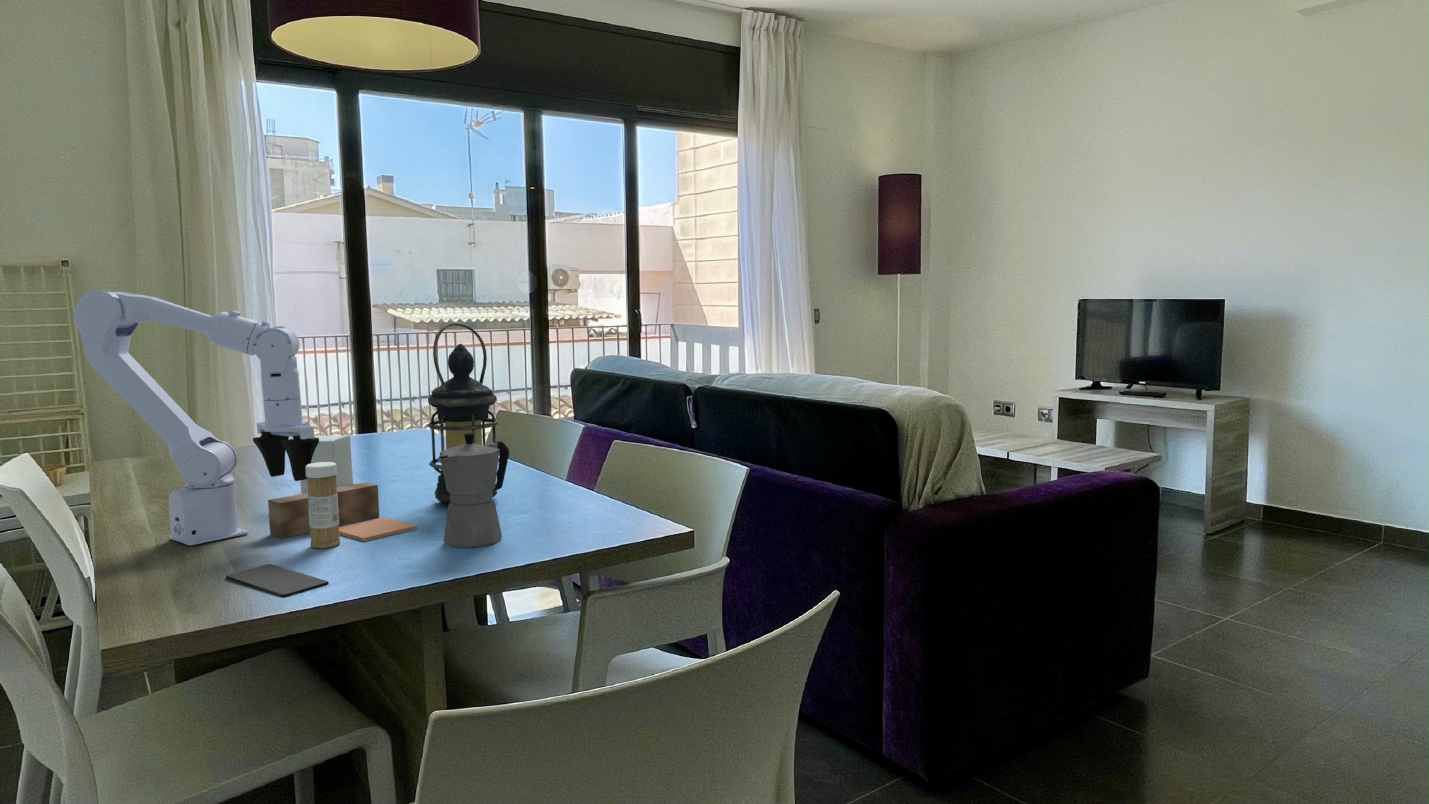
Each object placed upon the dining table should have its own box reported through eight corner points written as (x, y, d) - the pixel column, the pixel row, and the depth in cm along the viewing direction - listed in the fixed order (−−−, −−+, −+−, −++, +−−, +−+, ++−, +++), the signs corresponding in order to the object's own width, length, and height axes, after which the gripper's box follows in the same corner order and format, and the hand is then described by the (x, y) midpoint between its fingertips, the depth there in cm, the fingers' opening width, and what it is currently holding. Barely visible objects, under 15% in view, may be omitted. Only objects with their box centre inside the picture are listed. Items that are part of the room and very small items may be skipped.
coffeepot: (464, 554, 138) (460, 440, 136) (421, 546, 142) (416, 436, 140) (531, 532, 151) (528, 427, 149) (489, 525, 156) (486, 424, 154)
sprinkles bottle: (323, 540, 146) (319, 460, 145) (347, 542, 145) (342, 461, 143) (303, 548, 142) (298, 465, 140) (327, 550, 141) (322, 466, 139)
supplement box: (355, 496, 180) (351, 434, 178) (336, 504, 172) (332, 440, 171) (320, 495, 180) (316, 434, 179) (300, 504, 173) (296, 440, 172)
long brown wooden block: (282, 538, 148) (279, 503, 147) (269, 534, 150) (266, 499, 150) (379, 517, 162) (377, 484, 161) (365, 513, 165) (364, 482, 164)
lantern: (467, 513, 165) (460, 324, 161) (414, 506, 170) (405, 323, 166) (516, 497, 177) (510, 322, 173) (464, 492, 183) (458, 322, 179)
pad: (364, 541, 146) (364, 537, 146) (331, 532, 152) (331, 528, 152) (417, 528, 154) (416, 525, 153) (383, 520, 160) (383, 517, 159)
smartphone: (283, 595, 118) (223, 575, 126) (284, 601, 118) (224, 581, 126) (330, 581, 124) (270, 562, 132) (331, 587, 124) (270, 568, 132)
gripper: (328, 397, 149) (334, 477, 150) (282, 394, 157) (288, 469, 159) (287, 402, 143) (295, 485, 145) (242, 398, 151) (249, 477, 153)
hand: (289, 477), depth 151 cm, fingers open, 7 cm apart
